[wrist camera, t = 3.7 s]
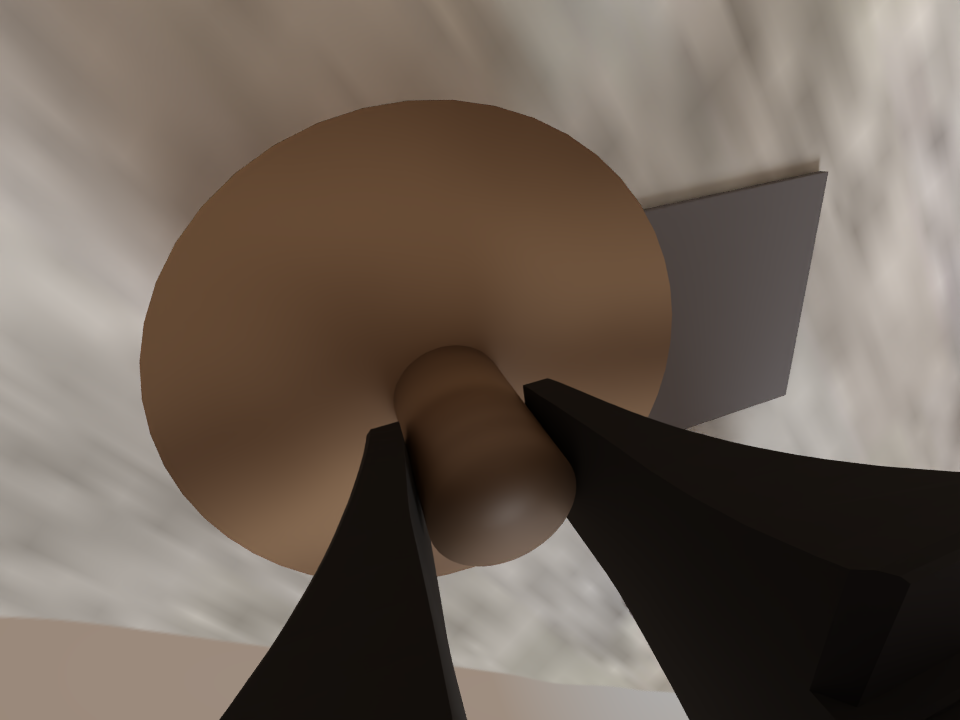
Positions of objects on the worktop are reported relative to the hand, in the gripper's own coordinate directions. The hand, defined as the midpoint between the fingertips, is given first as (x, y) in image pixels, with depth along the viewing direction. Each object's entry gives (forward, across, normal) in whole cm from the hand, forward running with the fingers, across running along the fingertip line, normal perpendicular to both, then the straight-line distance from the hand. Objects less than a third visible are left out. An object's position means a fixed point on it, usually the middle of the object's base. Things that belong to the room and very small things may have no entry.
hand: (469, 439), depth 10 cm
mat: (+9, -14, +4) cm, 17 cm away
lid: (+3, 0, 0) cm, 3 cm away
